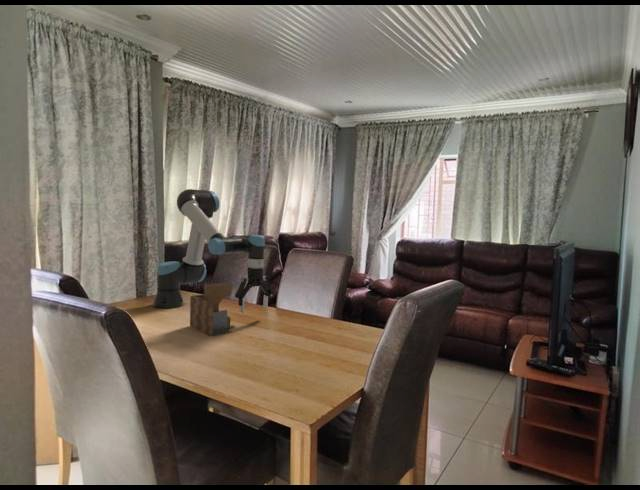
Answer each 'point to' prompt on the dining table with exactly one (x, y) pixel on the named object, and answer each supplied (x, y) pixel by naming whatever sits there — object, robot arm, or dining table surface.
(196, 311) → the wooden grain block
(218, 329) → the bookend
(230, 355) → the dining table surface
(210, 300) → the decorative block
